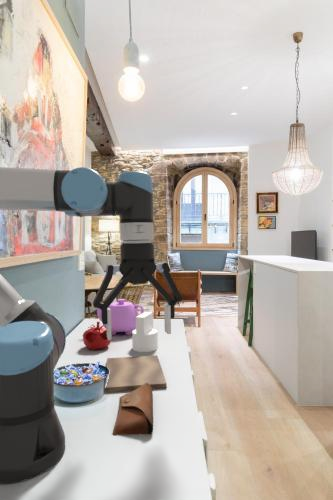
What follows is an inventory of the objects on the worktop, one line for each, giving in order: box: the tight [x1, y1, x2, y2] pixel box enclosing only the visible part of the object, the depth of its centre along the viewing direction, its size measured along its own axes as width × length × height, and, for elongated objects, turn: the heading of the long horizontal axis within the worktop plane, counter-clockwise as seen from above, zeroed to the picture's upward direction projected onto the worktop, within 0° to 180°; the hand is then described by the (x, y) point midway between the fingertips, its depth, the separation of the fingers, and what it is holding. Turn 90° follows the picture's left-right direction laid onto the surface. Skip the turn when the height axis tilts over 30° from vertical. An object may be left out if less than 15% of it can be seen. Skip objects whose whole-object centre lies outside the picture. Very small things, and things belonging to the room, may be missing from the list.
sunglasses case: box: [112, 383, 154, 436], centre depth 80 cm, size 18×7×7 cm, turn 3°
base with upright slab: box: [131, 311, 159, 353], centre depth 126 cm, size 9×9×12 cm
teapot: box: [96, 298, 145, 336], centre depth 147 cm, size 22×16×14 cm
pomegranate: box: [82, 321, 112, 351], centre depth 127 cm, size 10×10×9 cm
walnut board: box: [104, 354, 168, 393], centre depth 102 cm, size 16×22×1 cm
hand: (139, 335), depth 80 cm, fingers open, 13 cm apart
